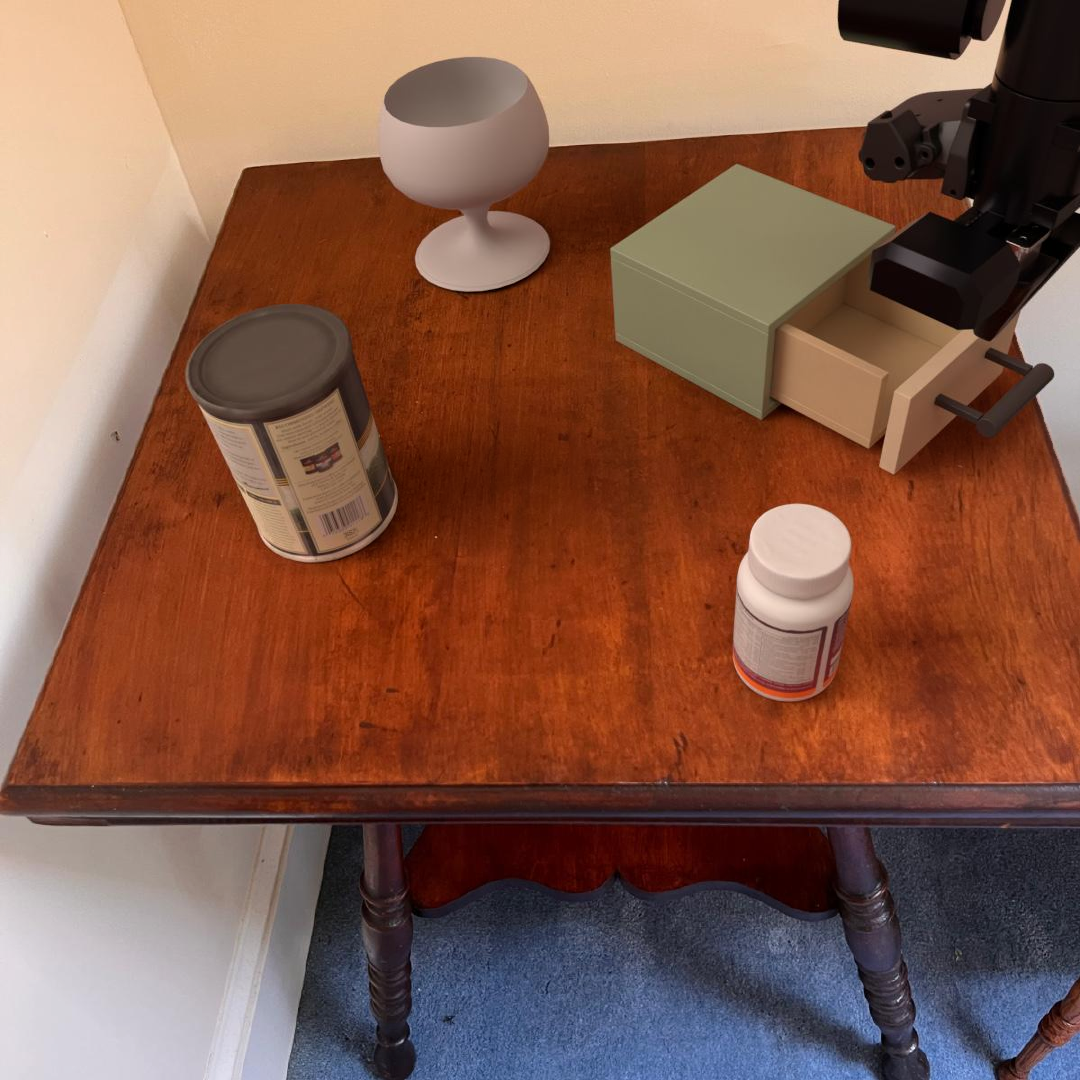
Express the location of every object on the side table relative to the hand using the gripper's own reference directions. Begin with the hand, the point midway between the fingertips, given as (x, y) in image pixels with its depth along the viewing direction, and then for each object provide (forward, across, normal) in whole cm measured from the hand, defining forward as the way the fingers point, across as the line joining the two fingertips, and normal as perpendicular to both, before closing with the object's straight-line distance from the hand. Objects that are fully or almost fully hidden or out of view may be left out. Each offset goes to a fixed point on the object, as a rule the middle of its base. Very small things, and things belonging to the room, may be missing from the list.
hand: (985, 335), depth 61 cm
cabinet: (+12, -4, -20) cm, 24 cm away
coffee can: (+12, +31, -30) cm, 45 cm away
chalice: (+12, +3, -45) cm, 47 cm away
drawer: (+11, -4, -7) cm, 14 cm away
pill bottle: (+12, +19, +2) cm, 23 cm away
